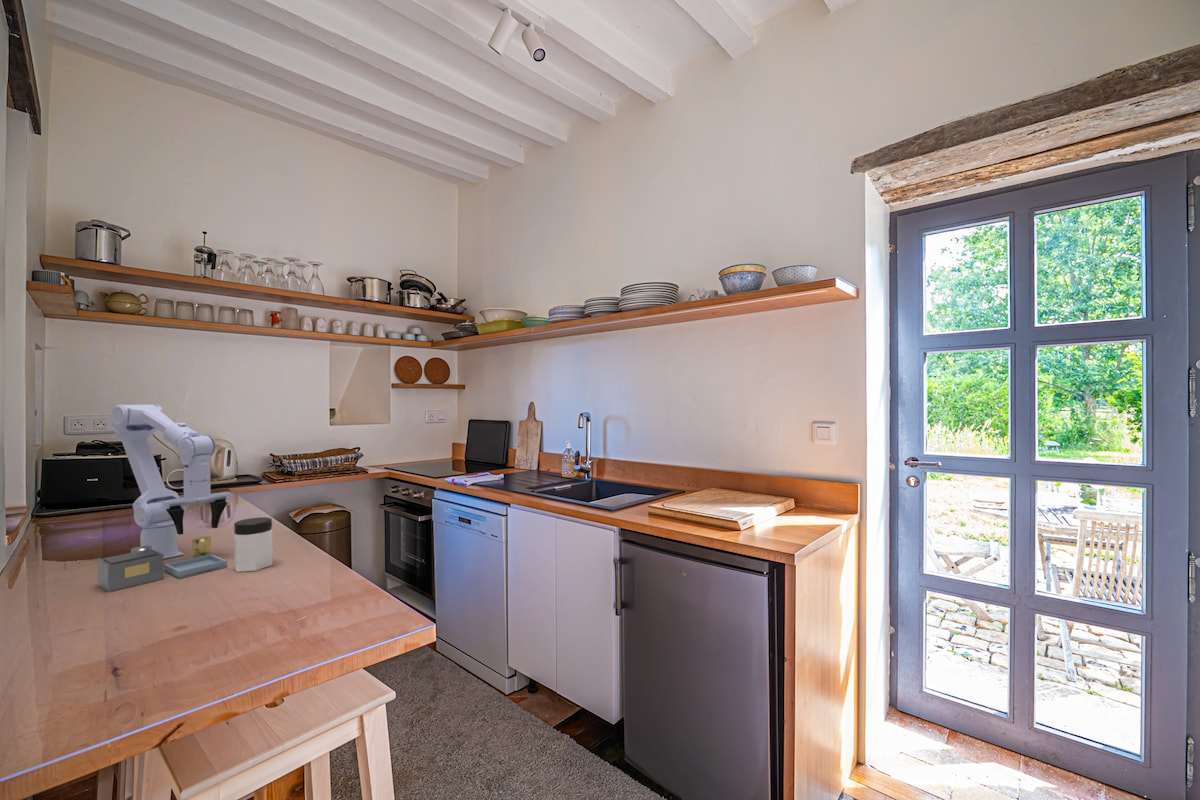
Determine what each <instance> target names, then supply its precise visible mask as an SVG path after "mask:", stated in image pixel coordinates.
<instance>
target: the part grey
mask: <svg viewBox="0 0 1200 800" xmlns="http://www.w3.org/2000/svg"><path fill="white" fill-rule="evenodd" d="M148 549H149V550H150V549H152V546H136V547H132V548H131V549H130V553H133V552H138V551H143V550H148Z"/></svg>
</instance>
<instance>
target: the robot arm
mask: <svg viewBox="0 0 1200 800" xmlns="http://www.w3.org/2000/svg"><path fill="white" fill-rule="evenodd" d="M110 423H111V425H112V428H113V431H114V432H115V436H116V437H117V438H119V439H121V443H122V445H123V448H124V452H125V454H126V456H127V460H128V463H129V464H130V468H131V470H132V472H133V475H134V478H135V481H136V483H137V486H138V489H139V491H140V494H141V495H139V497H138V498H137V499H136V500H134V502H133V504H132V509H133V519H134V522H135V523H136V525H138V526H139V528H142V530H141V531H140V537H139V538H140V541H139V543H140V546H152V549H153V550H155V551H157V552H159V553H162V554H163V556H164V560H165V559H169V558H174V557H179V556H183V555H184V552H182V551H180V550H178V535H179V536H180V535H183V534H184V516H185V513H186V506H187V507H188V506H193V505H199V504H201V505H202V504H207V503H209V505H210V513H211V514H210V515H211V517H210V518H211V520H210V521H211V523H210V524H211V525H210V526H211V528H212V529H217V528H219V527H218V526H219V522H220V520H221V517H222V515H223V511H224V510H225V508H226V507H227V505H228V501H229V500H231V493H230V492H217V493H211V491H212V489H211V487H212V486H211V456H212V455H214V453H215V451H216V440H215V439H214V438H213V437H212V436H211V434H210V435H209V434H204V435H203V434H199V433H198V432H197V431H195V430H193V429H192V428H190V427H189V426H188V425H187V423H185V422H176V423H175V422H174V421H173V420H172V419H170V417H168V416H167V415H166V414H165V411H164V408H163V406H162V407H161V406H160V405H159V404H156V403H151V404H123V403H121V404H120V403H118V404H116V405H115V406H114V408H112V410H111V414H110ZM157 431H159V432H160V433H162V434H163V435H162V437H163V439H164V440H165V441H166V442H168V443H169V444H171V445H172V446H174V447H175V448H177V449H176V450H177V453H178V455H179V457H180V463H181V465H182V466H183V470H182V471H183V472H182V473H183V497H180V496H179V493H178V492H176V491H174V490H171V489H169V488H167V487H166V486H165V484H164V481H163V478H162V475H161V472H160V471H159V468H158V464H157V462H156V460H155V457H154V454H153V451H152V449H151V446H150V444H149V441H148V438H150V437H151V436H153V435H154V434H156V432H157ZM140 546H139V547H140Z"/></svg>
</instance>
